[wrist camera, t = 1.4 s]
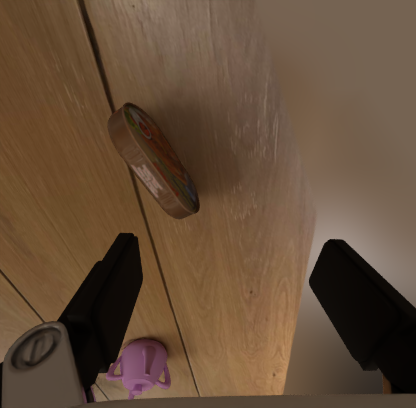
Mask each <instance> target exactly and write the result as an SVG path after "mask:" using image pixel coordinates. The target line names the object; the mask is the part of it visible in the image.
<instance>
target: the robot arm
mask: <svg viewBox="0 0 416 408" xmlns="http://www.w3.org/2000/svg"><path fill="white" fill-rule="evenodd" d="M142 281H143V273H142V266H141V258H140V251H139V244H138V237H137V236H134V234H133V233H120V234H119V235H118V236H117V238H116V239H115V241H114V243H113V244H112V246H111V247H110V249H109V250H108V252H107V254H106V255H105V257H104V258H103V260H102V261H98V262H97V263H96V264H95V265H94V266H93V268H92V269H91V271H90V272H89V274H88V275H87V277H86V278H85V280H84V281H83V283H82V284H81V286H80V287H79V289H78V290H77V292H76V293H75V295H74V296H73V298H72V299H71V301H70V302H69V304H68V305H67V307H66V308H65V310H64V311H63V313H62V314H61V316H60V317H59V319H58V320H57V322H56V321H51V322H45V323H42V324H40V325H37V326H35V327H33V328H32V329H30V330H28V331H27V332H25V333H24V334H23V335H22V336H21V337H19V338H18V339H17V340H16V341H15V342H14V344H13V345H12V346H11V347H10V348H9V350H8V352H7V354H6V355H5V358H4V362H2V363H0V408H416V308H415V307H414V306H413V305H412V304H411V303H410V302H409V301H407V300H406V299H405V298H404V297H403V296H402V295H401V294H400V293H399V292H398V291H397V290H396V289H395V288H393V286H392V285H391V284H389V283H388V282H387V281H386V280H385V279H384V278H383V277H382V276H381V275H380V274H379V273H378V272H377V271H376V270H375V269H374V268H372V266H370V265H369V264H368V263H367V262H366V261H365V260H364V259H363V258H362V257H361V256H360V255H359V254H358V253H357V252H356V251H355V250H353V248H351V247H350V246H349V245H348V244H347V243H346V242H345V241H344V240H340V239H330V240H328V241H327V242H326V243H325V244H324V246H323V248H322V251H321V253H320V255H319V257H318V260H317V262H316V264H315V267H314V269H313V271H312V274H311V276H310V278H309V285H310V287H311V289H312V290H313V292H314V294H315V295H316V297H317V299H318V300H319V302H320V304H321V305H322V307H323V308H324V310H325V312H326V314H327V315H328V317H329V319H330V320H331V322H332V324H333V325H334V327H335V329H336V330H337V332H338V334H339V335H340V337H341V339H342V340H343V342H344V344H345V345H346V347H347V349H348V350H349V352H350V354H351V355H352V357H353V358H354V359H355V360H356V361H358V363H359V364H360V366H361V367H362V369H363V370H365V371H366V370H367V371H372V370H377V369H378V368H379V369H380V370H381V372H382V373H383V394H336V395H272V396H221V397H175V398H150V399H127V400H112V401H103V402H96V399H95V395H94V392H93V388H92V385H93V384H94V383H95V381H96V378H97V376H98V373H108V370H109V367H110V364H111V363H115V362H116V360H117V357H118V354H119V351H120V348H121V345H122V342H123V339H124V336H125V333H126V330H127V327H128V324H129V321H130V318H131V315H132V312H133V309H134V306H135V303H136V300H137V297H138V294H139V291H140V288H141V285H142Z"/></svg>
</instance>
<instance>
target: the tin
mask: <svg viewBox="0 0 416 408" xmlns="http://www.w3.org/2000/svg"><path fill="white" fill-rule="evenodd" d="M108 131H109V135H110V138H111V140H112V142H113V144H114V146H115V148H116V149H117V151H118V153H119V154H120V156H121V157H122V158H123V159H124V161H125V162H126V163H127V164H128V166H129V167H130V168H131V170H132V171H133V172H134V173H135V175H136V176H137V177H138V179H139V180H140V181H141V182H142V184H143V185H144V186H145V187H146V189H147V190H148V191H149V192H150V194H151V195H152V196H153V197H154V199H155V200H156V201H157V202H158V204H159V205H160V206H161V207H162V209H163V210H164V211H165V212H166V213H167V214H169V215H170V216H172V217H173V218H176V219H182V218H185V217H187V216H189V215H191V214H195V213H197V212H198V211H199V208H200V204H199V198H198V195H197V191H196V189H195V186H194V184H193V182H192V180H191V178H190V176H189V175H188V173H187V172H186V170H185V169H184V167H183V165H182V164H181V162H180V161H179V159H178V158H177V156H176V155H175V153H174V152H173V150H172V148H171V147H170V145H169V144H168V142H167V141H166V139H165V138H164V136H163V134H162V133H161V131H160V130H159V128H158V127H157V126H156V124H155V123H154V122H153V121H152V119H151V118H150V117H149V116H148V115H147V114H146V113H145V112H144V111H143V110H142V109H140V108H139V107H138V106H136V105H134V104H132V103H125V104H124V105H123V107H122V108H120V109H119V110H117V111H116V112H115V113H113V114H112V115H111V116H110V118H109V120H108Z"/></svg>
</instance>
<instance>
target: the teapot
mask: <svg viewBox="0 0 416 408" xmlns="http://www.w3.org/2000/svg"><path fill="white" fill-rule="evenodd" d="M166 361H167V352H166V350H165V348H164V347H163V345H162V344H161V343H159V342H157V341H155V340H150V339H139V340H135V341H133V342H132V343H130V344H129V345H128V346H127V347H126V348H125V349H124V350H123V352H122V355H121V356H120V357H119V358H118V359H117V360H116V362H115V363H113V365H112V366H111V367H110V368H109V370H108V373H107V374H106V379H107V380H111V381H112V380H120V379H122V382H123V385H124V387H125V388H127V389H128V390H129V397H128V399H133V398H134V396H135V395H140V394H142V391H147V390H149V389H151V388H152V387H153V386H154V385H155V384H156V385H157V386H159V387H161V388H163V389H168V388H169V387H170V384H171V380H170V374H169V371H168V367H167V364H166ZM119 362H120V372H121V375H114V370H115V368H116V367H117V365H118V364H119ZM163 370H164V373H165V382H164V383H163V382H161V381H159V380H158V379H159V377H160V375H161V374H162V372H163Z"/></svg>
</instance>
